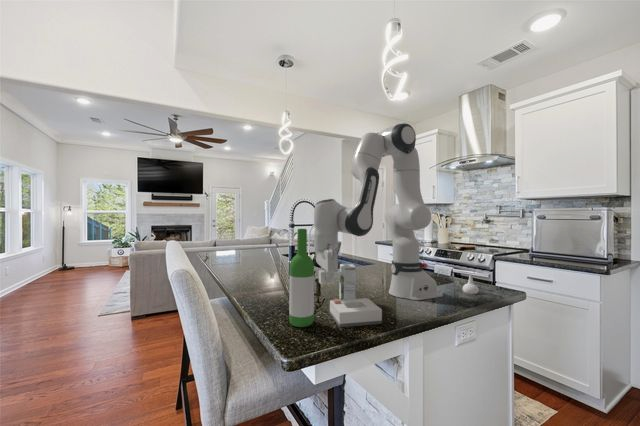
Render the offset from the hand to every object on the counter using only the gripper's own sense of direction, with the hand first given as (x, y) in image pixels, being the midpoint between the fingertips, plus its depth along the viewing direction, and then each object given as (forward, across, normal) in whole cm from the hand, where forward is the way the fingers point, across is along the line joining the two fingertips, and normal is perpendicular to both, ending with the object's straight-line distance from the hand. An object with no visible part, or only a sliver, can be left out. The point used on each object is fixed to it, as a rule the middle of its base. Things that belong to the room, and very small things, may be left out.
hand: (326, 279), depth 106 cm
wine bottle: (+10, -14, +12) cm, 21 cm away
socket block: (+10, -13, -6) cm, 18 cm away
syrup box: (+10, +4, -9) cm, 15 cm away
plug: (+3, 0, 0) cm, 3 cm away
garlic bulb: (+12, +6, -67) cm, 69 cm away
